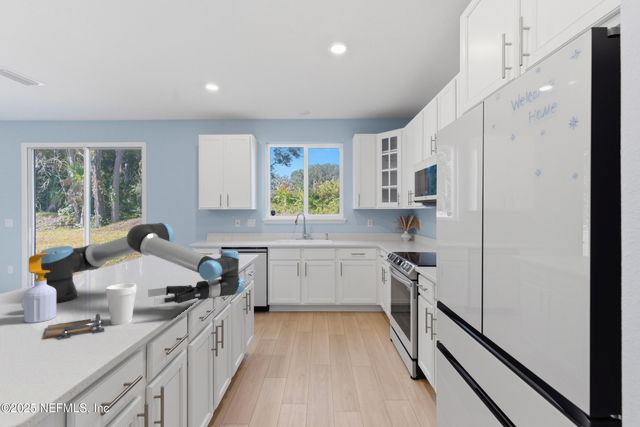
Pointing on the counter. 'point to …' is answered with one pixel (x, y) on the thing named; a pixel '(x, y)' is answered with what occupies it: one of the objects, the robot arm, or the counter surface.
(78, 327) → the rail
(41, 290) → the soap bottle
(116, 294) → the foam cup
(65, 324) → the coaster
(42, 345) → the counter surface
